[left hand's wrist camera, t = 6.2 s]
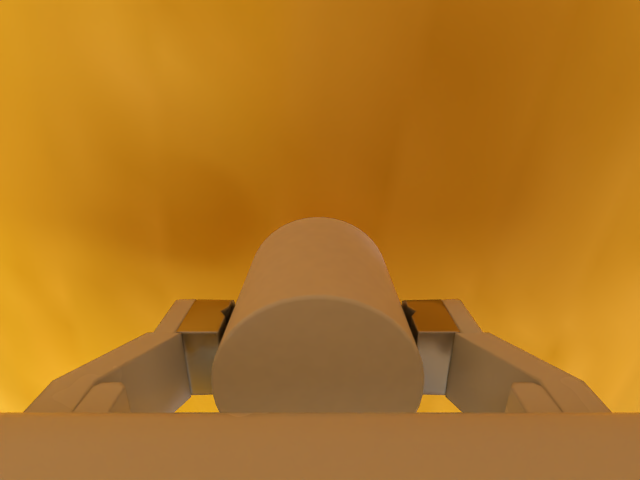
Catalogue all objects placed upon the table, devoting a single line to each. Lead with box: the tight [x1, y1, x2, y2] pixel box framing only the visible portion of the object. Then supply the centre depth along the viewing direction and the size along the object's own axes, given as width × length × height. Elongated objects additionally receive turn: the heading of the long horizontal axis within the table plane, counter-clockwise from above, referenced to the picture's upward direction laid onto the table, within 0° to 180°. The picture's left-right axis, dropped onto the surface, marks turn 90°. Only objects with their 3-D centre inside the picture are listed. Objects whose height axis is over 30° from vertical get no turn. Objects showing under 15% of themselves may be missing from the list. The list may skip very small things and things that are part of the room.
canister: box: [211, 217, 424, 413], centre depth 10 cm, size 4×4×5 cm
